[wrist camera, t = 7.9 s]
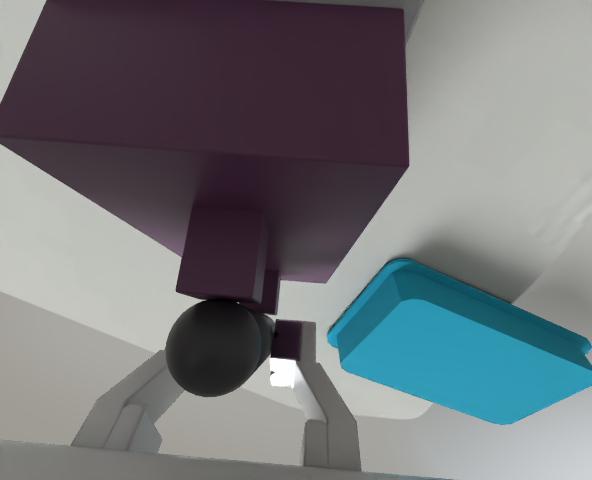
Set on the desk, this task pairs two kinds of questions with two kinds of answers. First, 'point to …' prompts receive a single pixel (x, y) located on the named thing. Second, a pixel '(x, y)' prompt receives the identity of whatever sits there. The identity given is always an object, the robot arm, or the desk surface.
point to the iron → (221, 144)
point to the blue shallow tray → (458, 346)
